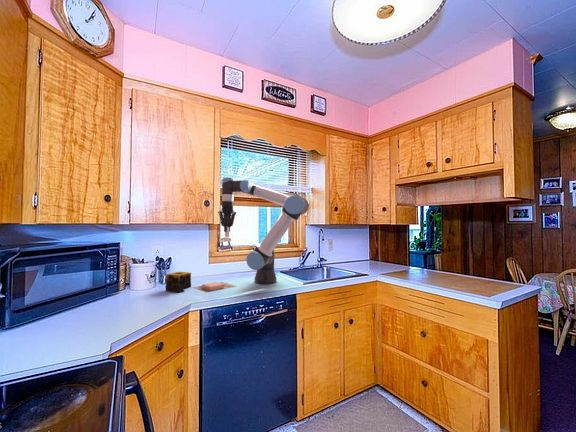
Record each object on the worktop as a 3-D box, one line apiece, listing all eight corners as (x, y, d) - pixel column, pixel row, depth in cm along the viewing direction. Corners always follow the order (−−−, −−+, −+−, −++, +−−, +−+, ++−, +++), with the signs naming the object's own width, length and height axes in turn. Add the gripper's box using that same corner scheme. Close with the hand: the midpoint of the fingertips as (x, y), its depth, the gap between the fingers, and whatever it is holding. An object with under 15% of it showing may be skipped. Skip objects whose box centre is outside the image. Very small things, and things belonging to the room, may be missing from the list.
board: (222, 283, 171) (222, 282, 171) (237, 288, 160) (237, 286, 160) (192, 289, 156) (192, 287, 156) (206, 294, 145) (206, 292, 145)
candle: (178, 293, 147) (178, 275, 147) (164, 291, 151) (165, 274, 151) (191, 289, 157) (191, 272, 157) (178, 287, 160) (178, 271, 161)
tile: (215, 281, 161) (202, 284, 155) (224, 284, 155) (210, 286, 148) (215, 285, 161) (202, 288, 155) (224, 288, 155) (210, 290, 148)
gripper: (232, 202, 182) (231, 236, 181) (215, 200, 172) (215, 236, 172) (239, 201, 177) (238, 236, 176) (222, 200, 167) (221, 237, 167)
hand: (226, 236), depth 174 cm, fingers closed
